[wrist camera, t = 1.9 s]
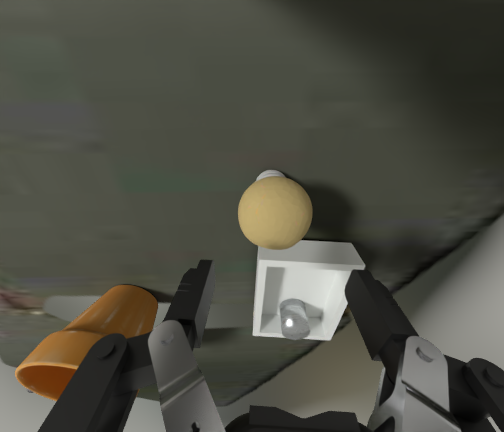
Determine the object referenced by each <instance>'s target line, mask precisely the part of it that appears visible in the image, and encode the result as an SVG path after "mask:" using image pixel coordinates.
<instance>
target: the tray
mask: <svg viewBox="0 0 504 432" xmlns="http://www.w3.org/2000/svg"><path fill="white" fill-rule="evenodd" d="M364 268H365V264H364V262H363V261H362V259H361V257H360V256H359V254H358V253H357V251H356V249H355V248H354V246H353V245H352V243H343V242H325V241H307V240H300V241H299V242H298V243H297V244H295V245H294V246H293V247H290V248H288V249H283V250H272V249H266V248H263V247H260V246H258V258H257V272H256V286H255V299H254V316H253V336H267V337H284V336H283V335H282V329H281V318H280V307H279V306H280V303H281V302H282V301H284V300H286V299H291V298H295V299H299V300H301V301H303V302H304V304H305V308H306V313H307V317H308V322H309V327H310V334H309V335H308V336H307V337H306V338H303V339H317V340H331V338H332V336H333V334H334V331H335V329H336V327H337V325H338V323H339V321H340V319H341V317H342V315H343V312H344V310H345V308H346V306H347V304H348V302H347V300H346V297H345V286H346V283H347V281H348V279H349V276H350V274H351V272H352V270H353V269H357V270H364ZM284 338H286V337H284Z"/></svg>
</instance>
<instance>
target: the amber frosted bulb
mask: <svg viewBox="0 0 504 432" xmlns="http://www.w3.org/2000/svg"><path fill="white" fill-rule="evenodd" d="M312 212H313V211H312V204H311V201H310V198H309V196H308V194H307V193H306V192H305V190H304V189H303V188H302V187H301V186H300V185H299V184H298V183H296V182H294V181H293V180H291V179H288V178H286V177H285V176H284V175H283V174H282V173H281V172H279V171H276V170H267V171H264V172H263V173H261V174H260V175H259V176H258V178H257V179H256V182H255V183H253V184H252V185H251V186H250V187H249V188H248V189H247V190H246V191H245V193H244V194H243V196H242V198H241V201H240V204H239V210H238V217H239V223H240V226H241V229H242V231H243V233H244V235H245V236H246V237H247V238H248V239H249V240H250V241H251V242H253V243H254V244H256V245H258V246H260V247H263V248H266V249H272V250H283V249H288V248H290V247H293V246H294V245H295V244H297V243H298V242H299V241H300V240H301V239H302V238H303V237H304V235H305V234H306V232H307V231H308V229H309V227H310V224H311V220H312Z"/></svg>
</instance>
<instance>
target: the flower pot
mask: <svg viewBox="0 0 504 432" xmlns="http://www.w3.org/2000/svg"><path fill="white" fill-rule="evenodd" d="M157 309H158V303H157V300H156V299H155V297H154V296H153V295H152V294H150V293H149V292H148V291H146V290H144V289H142V288H140V287H137V286H133V285H118V286H115V287H113V288H111V289H110V290H109V291H108V292H107V293H105V294H104V295H103V296H102V297H101V298H99V299H98V300H97V301H96V302H95V303H94V304H92V305H91V306H90V307H89V308H88V309H87V310H85V311H84V312H83V313H82V314H81V315H80V316H78V317H77V318H76V319H75V320H74V321H73V322H71V323H70V324H69V325H68V326H67V327H66V328H64V329H63V330H62V331H58V332H55V333H52V334H50V335H49V336H47V337H46V338H45V339H44V340H43V341H42V342H41V343H40V344H39V345H38V346H37V347H36V348H35V349H34V350H33V351H32V353H31V354H30V355H29V356H28V357H27V358H26V359H25V360H24V361H23V362H22V363H21V364H20V366H19V367H18V368H17V369H16V371H15V376H16V378H17V380H18V381H19V382H20V383H21V384H22V385H23V386H24V387H26V388H27V389H29V390H31V391H33V392H35V393H36V394H39V395H41V396H44V397H46V398H49V399H52V400H55V401H57V400H58V399H59V397H60V395H61V394H62V392H63V391H64V389H65V388H66V386H67V384H68V383H69V381H70V380H71V378H72V376H73V375H74V373H75V372H76V370H77V368H78V367H79V365H80V364H81V362H82V361H83V359H84V357H85V356H86V354H87V353H88V351H89V350H90V348H91V347H92V346H93V345H94V344H95V343H96V342H97V341H98V340H100V339H101V338H103V337H105V336H107V335H109V334H113V333H120V334H122V335H124V336H125V338H126V339H127V338H131V337H135V336H139V335H142V334H146V333H148V332H151V331H152V329H153V325H154V321H155V318H156V314H157ZM138 391H139V389H138ZM137 394H138V392H137ZM136 396H137V395H136ZM135 398H136V397H135Z"/></svg>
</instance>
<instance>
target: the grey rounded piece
mask: <svg viewBox="0 0 504 432" xmlns="http://www.w3.org/2000/svg"><path fill="white" fill-rule="evenodd" d="M279 307H280V318H281V329H282V335H283V336H284V337H286V338H288V339H292V340H298V339H303V338H306V337H307V336H308V335H309V334H310V327H309V322H308V317H307V313H306V308H305V304H304V302H303V301H301V300H299V299H295V298H291V299H286V300H284V301H282V302H281V303H280V306H279Z"/></svg>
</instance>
